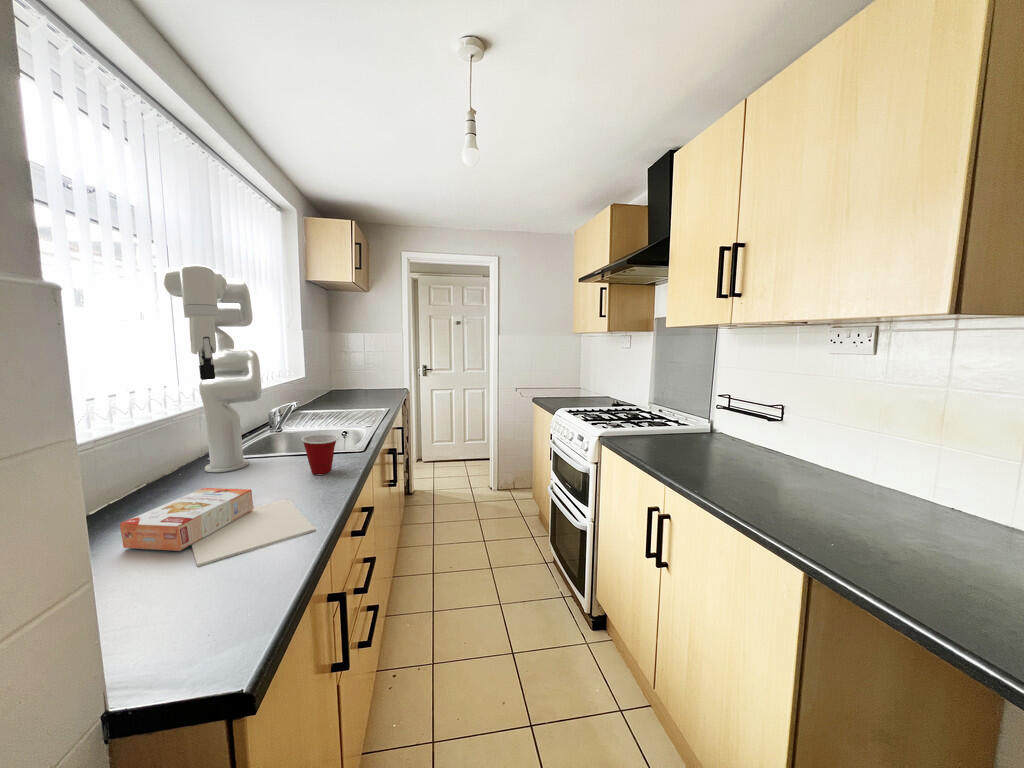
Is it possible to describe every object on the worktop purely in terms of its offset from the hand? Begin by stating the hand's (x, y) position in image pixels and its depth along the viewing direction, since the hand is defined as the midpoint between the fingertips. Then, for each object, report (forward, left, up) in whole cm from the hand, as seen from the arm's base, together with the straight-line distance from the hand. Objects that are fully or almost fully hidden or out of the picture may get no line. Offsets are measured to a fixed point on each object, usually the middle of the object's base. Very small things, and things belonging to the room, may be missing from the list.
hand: (207, 379), depth 115 cm
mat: (+31, +2, -33) cm, 45 cm away
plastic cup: (+1, +28, -33) cm, 44 cm away
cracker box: (+16, 0, -30) cm, 34 cm away
